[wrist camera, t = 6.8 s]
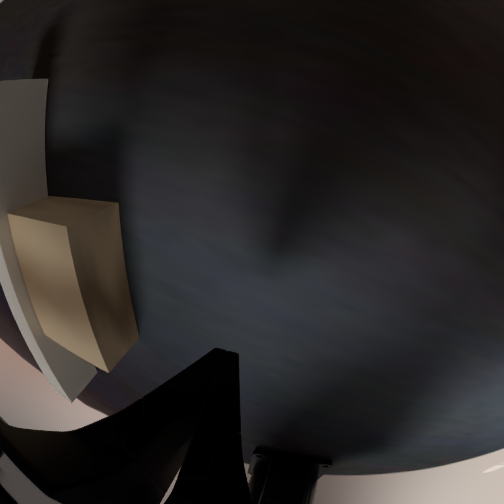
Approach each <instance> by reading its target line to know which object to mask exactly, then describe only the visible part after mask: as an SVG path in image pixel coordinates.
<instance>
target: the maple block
mask: <svg viewBox="0 0 504 504" xmlns="http://www.w3.org/2000/svg"><path fill="white" fill-rule="evenodd" d="M7 216H8V222H9V227H10V232H11V236H12V241H13V245H14V249H15V253H16V257H17V261H18V264H19V268H20V271H21V274H22V278H23V281H24V284H25V287H26V290H27V293H28V295H29V298H30V301H31V304H32V306H33V309H34V311H35V314H36V316H37V319H38V321H39V324H40V326H41V328H42V330H43V333H44V334H45V335H46V336H47V337H49V338H50V339H52V340H53V341H55V342H56V343H58V344H60V345H61V346H63V347H64V348H66V349H67V350H69V351H71V352H72V353H74V354H76V355H77V356H79V357H81V358H82V359H84V360H86V361H88V362H89V363H91V364H93V365H95V366H97V367H98V368H100V369H102V370H104V371H106V372H108V373H110V371H111V370H112V369H113V368H114V366H115V365H116V364H117V363H118V362H119V360H120V359H121V358H122V357H123V356H124V355H125V353H126V352H127V351H128V350H129V349H130V347H131V346H132V345H133V344H134V343H135V342H136V340H137V339H138V338H139V334H138V330H137V325H136V321H135V316H134V311H133V307H132V301H131V296H130V291H129V285H128V279H127V273H126V267H125V260H124V252H123V245H122V236H121V227H120V216H119V203H116V202H107V201H97V200H88V199H77V198H67V197H56V196H48V197H45V198H42V199H40V200H37V201H35V202H32V203H30V204H28V205H25V206H23V207H20V208H18V209H16V210H14V211H11V212H9V213H7Z"/></svg>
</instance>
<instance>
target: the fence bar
mask: <svg viewBox="0 0 504 504" xmlns="http://www.w3.org/2000/svg"><path fill="white" fill-rule="evenodd" d="M47 88H48V79H21V80H7V81H0V282H1V285H2V288H3V291H4V293H5V296H6V299H7V301H8V304H9V306H10V309H11V311H12V313H13V316H14V318H15V320H16V322H17V325H18V327H19V329H20V331H21V333H22V335H23V337H24V339H25V341H26V343H27V345H28V347H29V349H30V351H31V353H32V354H33V356H34V358H35V360H36V362H37V363H38V365H39V367H40V368H41V370H42V372H43V373H44V375H45V376H46V378H47V380H48V381H49V383H50V385H51V386H52V388H53V389H54V390H55V391H56V392H58V393H59V394H60V395H62V396H63V397H64V398H66V399H67V400H69V401H70V402H71V403H72V402H73V401H74V400H75V399H76V397H77V396H78V395H79V394H80V393H81V391H82V390H83V389H84V388H85V387H86V385H87V384H88V383H89V382H90V381H91V380H92V378H93V377H94V376H95V375H96V374H97V370H96V368H95V366H94V365H93V364H91V363H89V362H88V361H86V360H84V359H82V358H81V357H79V356H77V355H76V354H74V353H72V352H71V351H69V350H67V349H66V348H64V347H63V346H61V345H60V344H58V343H56V342H55V341H53V340H52V339H50V338H49V337H47V336H46V335H45V334H44V333H43V330H42V328H41V326H40V324H39V321H38V319H37V316H36V314H35V311H34V309H33V306H32V304H31V301H30V298H29V295H28V293H27V290H26V287H25V284H24V281H23V278H22V274H21V271H20V268H19V264H18V261H17V257H16V253H15V249H14V245H13V241H12V236H11V232H10V227H9V222H8V216H7V213H9V212H11V211H14V210H16V209H18V208H20V207H23V206H25V205H28V204H30V203H32V202H35V201H37V200H40V199H42V198H45V197H48V190H47V179H46V163H45V113H46V98H47Z"/></svg>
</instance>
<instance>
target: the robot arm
mask: <svg viewBox="0 0 504 504" xmlns="http://www.w3.org/2000/svg"><path fill="white" fill-rule="evenodd" d="M180 467H181V468H180ZM331 467H332V461H327V460H317V459H309V458H301V457H294V456H288V455H282V454H277V453H271V452H266V451H262V450H254V452H253V455H252V459H251V462H250V466H249V469H248V473H249V474H251V477H250V481H249V484H248V482H247V477H246V473H245V468H244V462H243V455H242V442H241V417H240V382H239V354H238V353H235V352H231V351H226V350H224V349H220V348H214V349H213V350H211V351H210V352H208V353H207V354H206V355H204V356H203V357H201V358H200V359H199V360H197V361H196V362H194V363H193V364H191V365H190V366H189V367H187V368H186V369H184V370H183V371H181V372H180V373H178V374H177V375H175V376H174V377H172V378H171V379H169V380H168V381H166V382H165V383H163V384H162V385H160V386H159V387H157V388H156V389H154V390H153V391H151V392H150V393H148V394H147V395H145V396H144V397H142V399H141V398H140V399H139V400H137V401H136V402H134V403H132V404H131V405H129V406H127V407H125V408H124V409H122V410H120V411H118V412H116V413H114V414H112V415H110V416H108V417H106V418H103V419H101V420H99V421H96V422H94V423H92V424H89V425H87V426H84V427H82V428H79V429H77V430H72V431H65V432H59V431H43V430H32V429H23V428H17V427H13V426H10V425H8V424H7V423H6V422H5V421H4V420H3V419H2V417H0V504H160V502H161V501H162V499H163V497H164V496H165V493H166V492H167V490H168V488H169V487H170V485H171V483H172V482H173V480H174V478H175V476H176V474H177V473H178V471H179V469H180V472H179V474H178V477H177V480H176V483H175V485H174V488H173V490H172V492H171V494H170V495H169V497H168V498H167V500H166V501H165V503H164V504H313V502H314V497H315V492H316V486H317V480H318V479H319V478H320V477H321V476H322V475H323V474H325V473H326V472H327V471H328V470H329V469H330V468H331Z"/></svg>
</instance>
